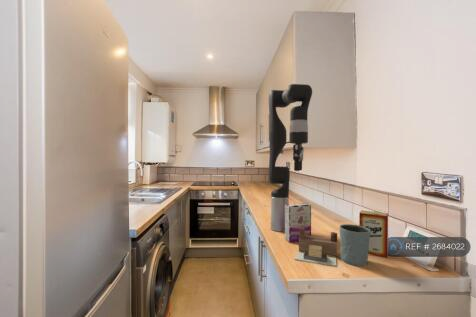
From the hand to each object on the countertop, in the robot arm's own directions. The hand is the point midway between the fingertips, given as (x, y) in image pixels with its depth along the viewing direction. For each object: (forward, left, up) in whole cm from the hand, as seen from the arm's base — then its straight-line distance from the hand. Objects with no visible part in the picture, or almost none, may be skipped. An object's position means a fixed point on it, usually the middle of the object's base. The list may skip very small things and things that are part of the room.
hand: (298, 170), depth 98 cm
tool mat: (+10, +8, -32) cm, 34 cm away
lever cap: (+9, +8, -32) cm, 34 cm away
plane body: (+1, +8, -32) cm, 33 cm away
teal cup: (+6, +21, -32) cm, 39 cm away
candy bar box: (-10, -1, -32) cm, 34 cm away
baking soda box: (-7, +29, -32) cm, 44 cm away
